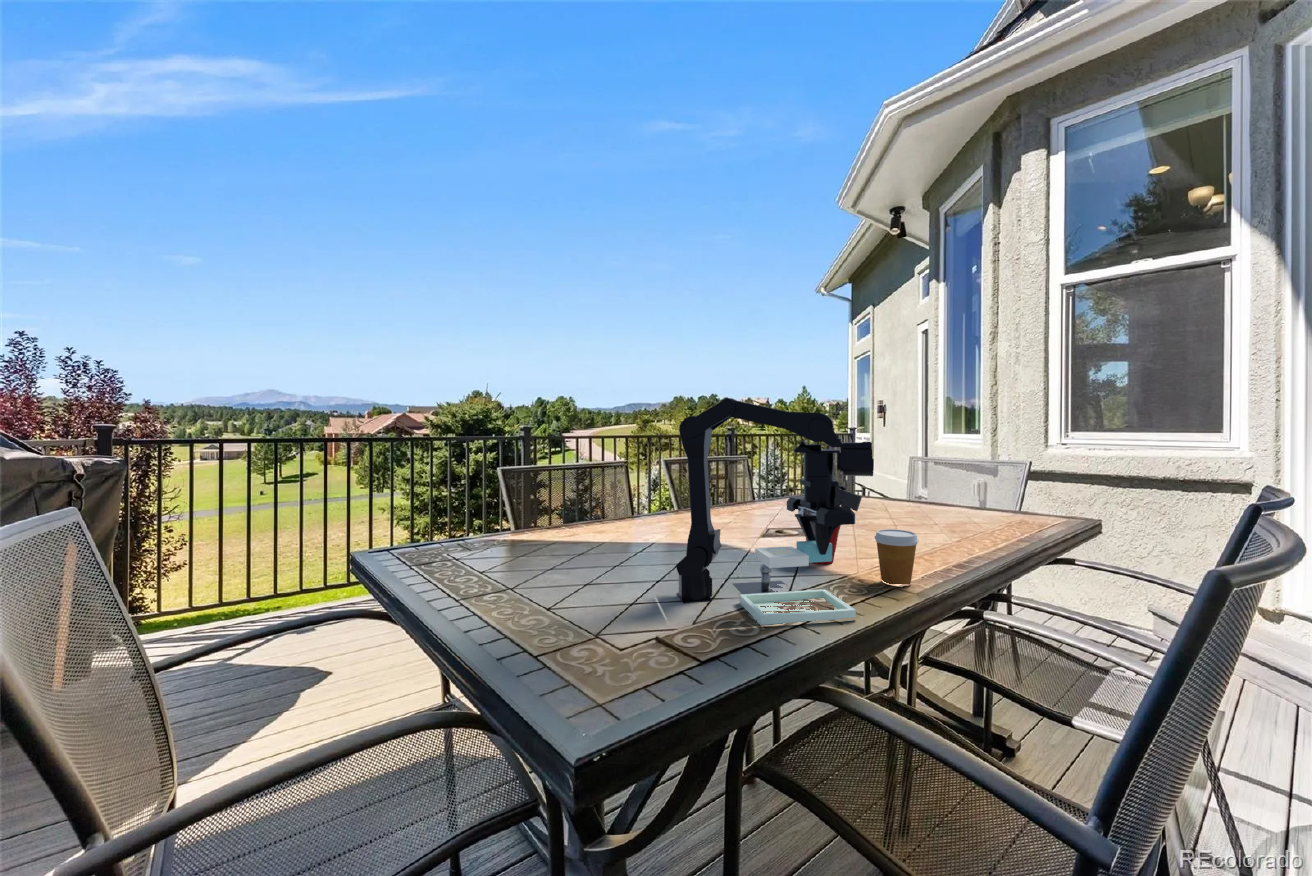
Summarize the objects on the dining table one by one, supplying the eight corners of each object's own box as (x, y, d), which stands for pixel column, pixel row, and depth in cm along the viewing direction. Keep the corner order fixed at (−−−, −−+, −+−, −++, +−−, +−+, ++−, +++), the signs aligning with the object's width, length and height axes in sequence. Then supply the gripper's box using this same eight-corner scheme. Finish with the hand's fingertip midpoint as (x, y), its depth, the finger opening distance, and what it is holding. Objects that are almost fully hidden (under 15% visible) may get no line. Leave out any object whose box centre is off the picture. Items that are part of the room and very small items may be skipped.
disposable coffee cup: (865, 581, 132) (865, 531, 131) (894, 575, 136) (894, 527, 135) (897, 592, 123) (898, 538, 123) (927, 586, 127) (928, 534, 127)
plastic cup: (796, 566, 146) (796, 520, 145) (805, 556, 155) (805, 514, 155) (838, 571, 141) (839, 524, 140) (845, 561, 150) (845, 517, 150)
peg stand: (748, 601, 118) (748, 572, 117) (732, 585, 129) (732, 558, 129) (802, 598, 119) (802, 569, 119) (780, 582, 131) (780, 556, 131)
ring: (769, 568, 106) (769, 550, 105) (755, 557, 113) (755, 540, 113) (837, 564, 108) (837, 546, 108) (819, 554, 116) (819, 537, 116)
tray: (761, 628, 103) (761, 616, 103) (739, 604, 116) (739, 594, 116) (855, 621, 106) (855, 610, 106) (824, 599, 119) (824, 589, 119)
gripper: (881, 479, 103) (881, 562, 103) (833, 470, 121) (833, 540, 122) (825, 480, 101) (825, 565, 102) (785, 471, 120) (785, 542, 120)
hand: (818, 552), depth 111 cm, fingers closed on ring, 3 cm apart
